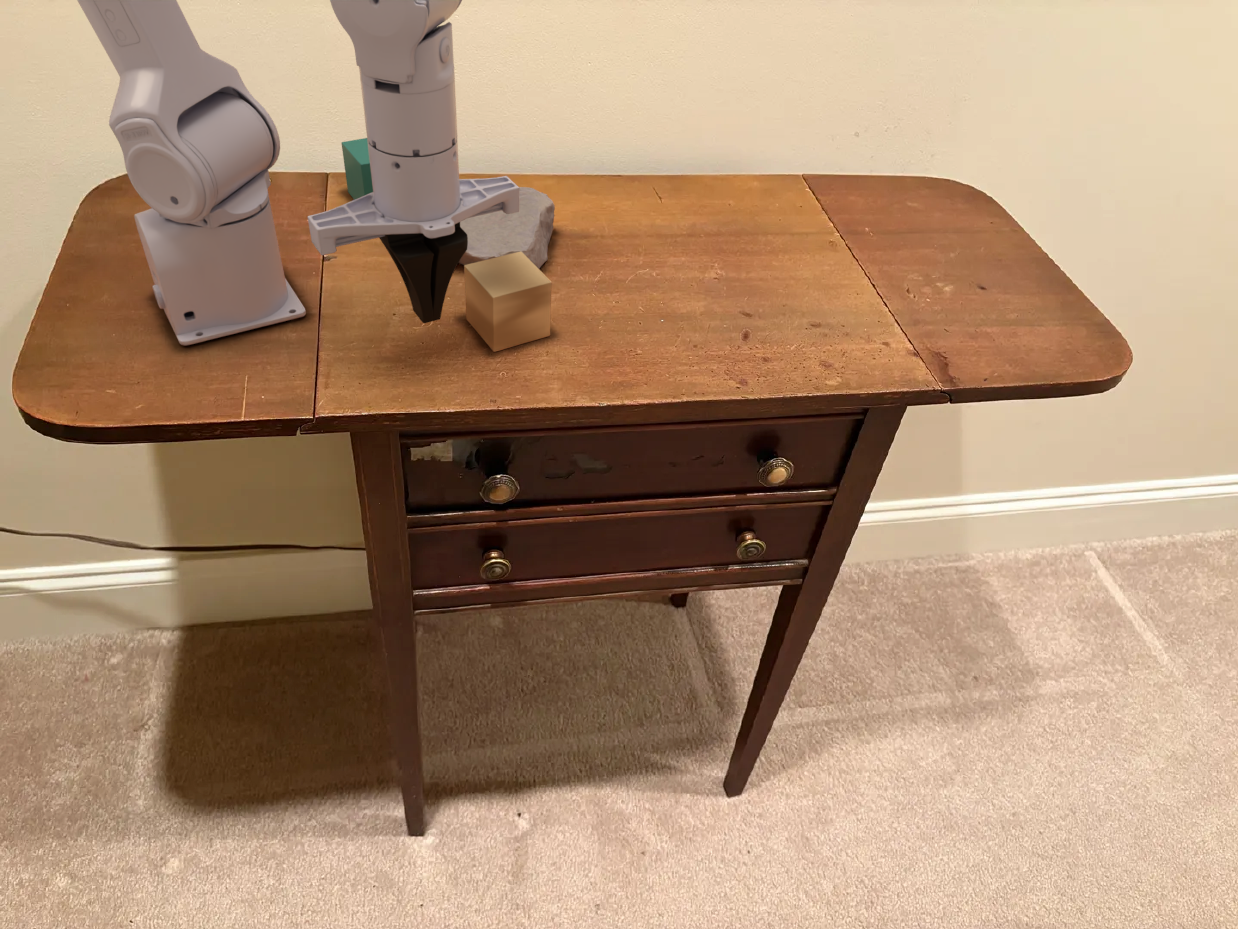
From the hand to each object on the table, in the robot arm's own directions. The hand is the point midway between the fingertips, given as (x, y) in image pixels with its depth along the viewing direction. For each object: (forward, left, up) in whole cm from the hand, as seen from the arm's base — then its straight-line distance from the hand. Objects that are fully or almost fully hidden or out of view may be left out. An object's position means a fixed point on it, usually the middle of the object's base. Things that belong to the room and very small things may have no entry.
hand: (426, 314), depth 69 cm
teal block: (+6, +24, -3) cm, 25 cm away
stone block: (+10, +12, -3) cm, 16 cm away
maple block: (+7, 0, -3) cm, 7 cm away
